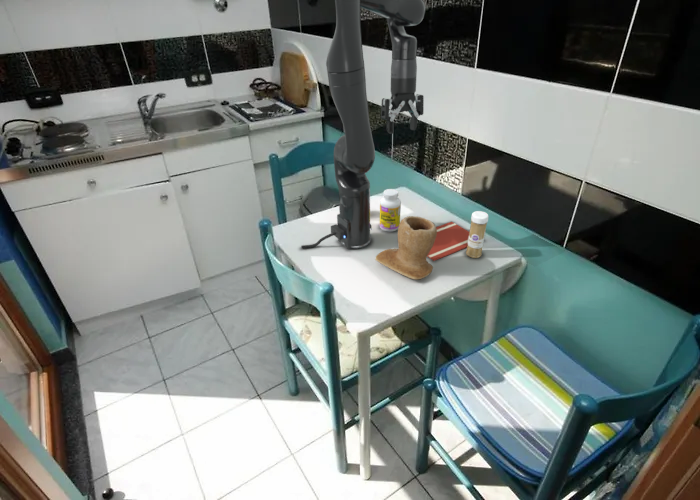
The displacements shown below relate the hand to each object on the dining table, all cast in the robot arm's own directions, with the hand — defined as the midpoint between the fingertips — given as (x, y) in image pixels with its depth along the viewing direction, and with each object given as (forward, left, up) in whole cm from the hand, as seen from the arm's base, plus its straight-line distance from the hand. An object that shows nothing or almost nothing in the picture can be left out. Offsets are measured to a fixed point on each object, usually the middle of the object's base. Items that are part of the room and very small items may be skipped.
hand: (402, 131), depth 130 cm
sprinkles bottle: (+3, -33, -29) cm, 44 cm away
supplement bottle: (-8, -6, -29) cm, 31 cm away
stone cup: (-18, -27, -29) cm, 43 cm away
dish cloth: (+1, -22, -29) cm, 36 cm away
